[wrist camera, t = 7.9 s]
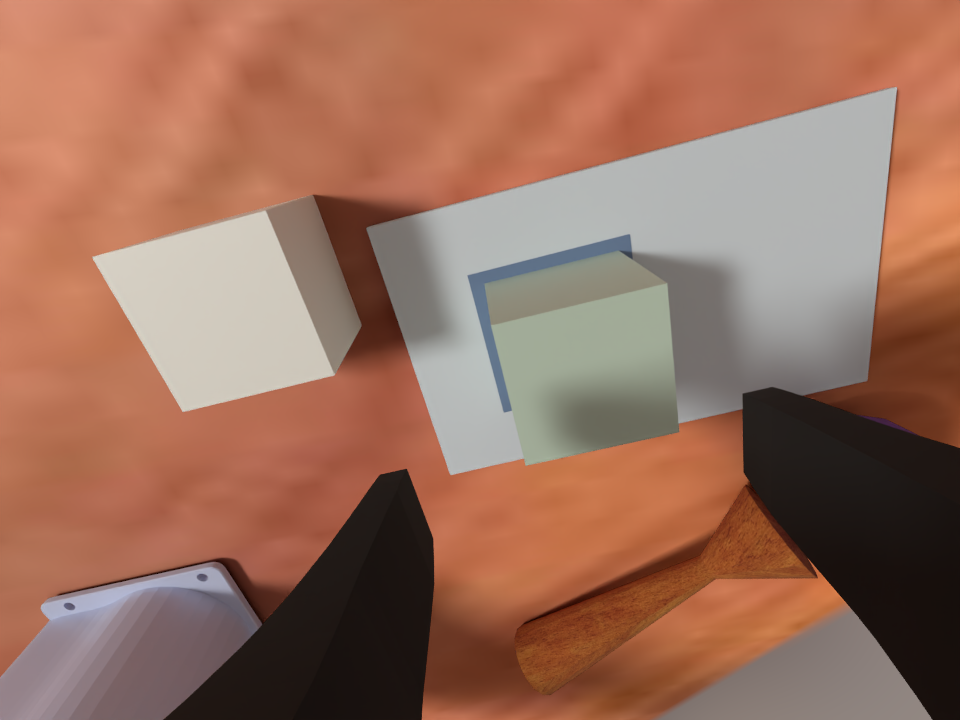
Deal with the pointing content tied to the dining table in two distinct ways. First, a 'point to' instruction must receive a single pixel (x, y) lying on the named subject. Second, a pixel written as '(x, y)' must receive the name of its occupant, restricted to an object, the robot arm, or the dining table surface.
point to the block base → (585, 355)
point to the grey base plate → (665, 265)
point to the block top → (237, 303)
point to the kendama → (659, 594)
